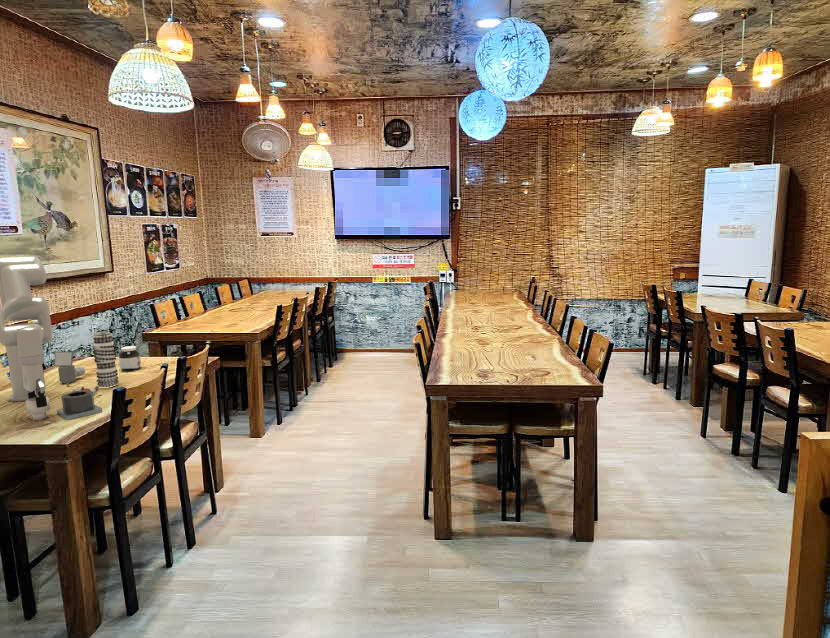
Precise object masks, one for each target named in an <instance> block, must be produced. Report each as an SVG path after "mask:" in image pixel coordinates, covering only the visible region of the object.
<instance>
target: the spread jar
mask: <svg viewBox="0 0 830 638" xmlns="http://www.w3.org/2000/svg"><path fill="white" fill-rule="evenodd" d="M120 350H121V352H120V354H119V355H118V356H119V357H118V360H117V366H118V367H120V368H119V369H121V370H122V371H124V372H134V370H135V371H137V370H139V369H140V368H141V366H142V360H141V354H140V351H139V350H137V346H135V345H130V346H129V345H127V346H122V347H121V348H120Z"/></svg>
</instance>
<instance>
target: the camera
mask: <svg viewBox="0 0 830 638" xmlns="http://www.w3.org/2000/svg"><path fill="white" fill-rule="evenodd" d="M73 358H74V351H55V352H54V362H53V363H54V364H53V367H58V368H57V369H58V371H57V372H58V378H59V382H60V383H64V384H66V385H69V384H68V383H70V384H72V383H74V382H73V381H75V382H76V380H77V378H78V377H79V378H80V377H81V376H82V377H83V376H84V375H85V374H86V369H85V368H84V367H83V366H78V367H75V365H74V364H73V360H74V359H73ZM71 382H72V383H71Z"/></svg>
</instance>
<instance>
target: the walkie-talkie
mask: <svg viewBox="0 0 830 638" xmlns="http://www.w3.org/2000/svg"><path fill="white" fill-rule="evenodd" d="M98 389H99V388H98V385H96V386H95V387H94V388H93V389H91V388H89V387H86V388H85V387H84V386H77V387H76V388H75V389H74V390H72V391H71V392H74V391H82V390H90V391H92V392H93V395H94V394H95V393H96V394H97V390H98ZM96 394H95V395H96ZM95 395H94V396H95Z"/></svg>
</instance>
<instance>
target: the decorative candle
mask: <svg viewBox="0 0 830 638" xmlns="http://www.w3.org/2000/svg"><path fill="white" fill-rule="evenodd" d="M113 335H114V334H113V333H111V332H110V331H109V330H108V331H103V330H102V331H97V332H95V333H94V334H93V336H92V338H93V347H92V350H93V351H92V354H93V358H94V360H93V361H94V363H95V365H96V372H95V373H96V378H97V379H96V382H97V383H96V386H98V387H110V386H114V385H118V384H119V382H120V380H119V377H118V375H119V373H117V372H118V369H117V366H116V365H117V364H116V361H117V357H115V356H116V355H117V352H116V351H117V350H116V349H115V348H116V346H117V345H115V344H116V343H115V342H114V340H113V337H114V336H113ZM117 383H118V384H117ZM118 386H119V385H118Z"/></svg>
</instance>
